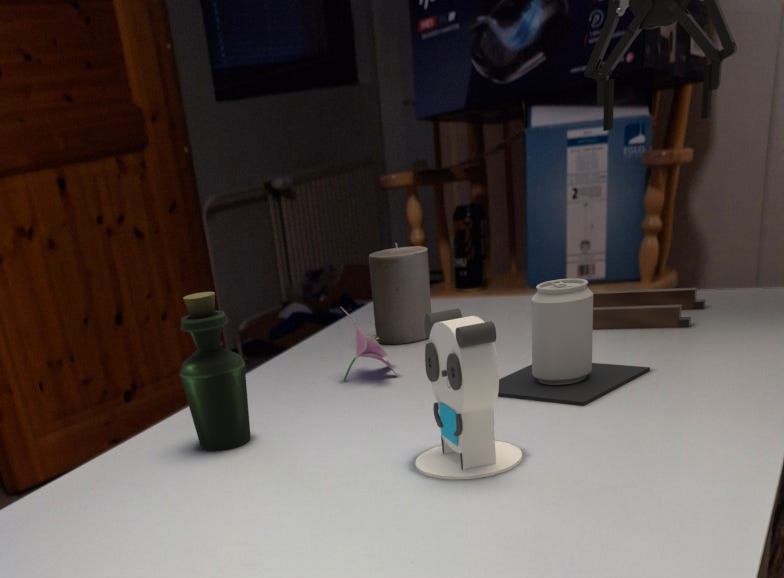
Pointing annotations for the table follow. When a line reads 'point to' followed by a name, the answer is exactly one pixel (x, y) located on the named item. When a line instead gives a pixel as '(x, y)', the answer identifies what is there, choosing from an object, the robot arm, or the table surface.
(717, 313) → the table surface
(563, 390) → the mat
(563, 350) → the can
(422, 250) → the pillar candle
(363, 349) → the lily
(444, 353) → the panda figurine
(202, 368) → the potion bottle
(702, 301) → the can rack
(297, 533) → the table surface
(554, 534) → the table surface
